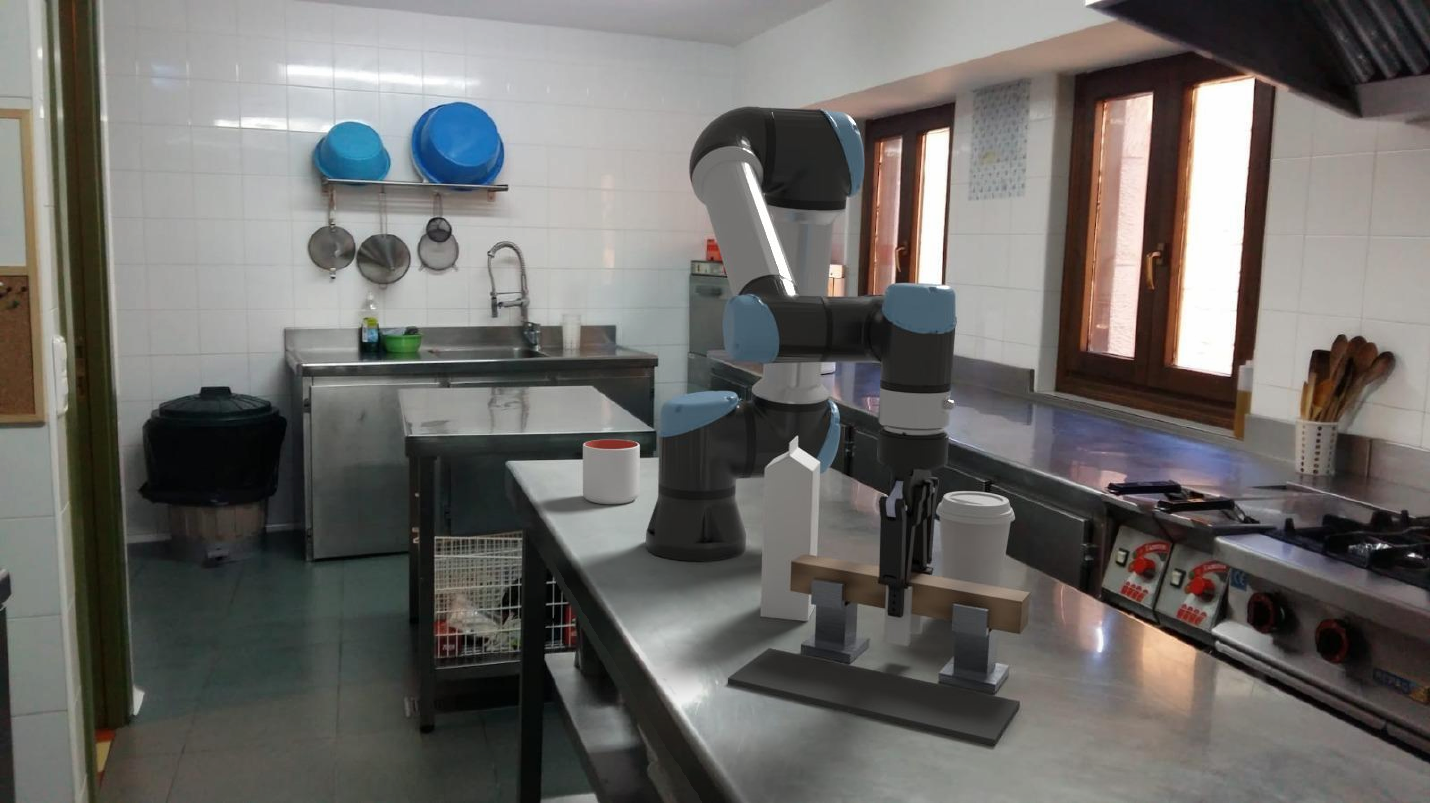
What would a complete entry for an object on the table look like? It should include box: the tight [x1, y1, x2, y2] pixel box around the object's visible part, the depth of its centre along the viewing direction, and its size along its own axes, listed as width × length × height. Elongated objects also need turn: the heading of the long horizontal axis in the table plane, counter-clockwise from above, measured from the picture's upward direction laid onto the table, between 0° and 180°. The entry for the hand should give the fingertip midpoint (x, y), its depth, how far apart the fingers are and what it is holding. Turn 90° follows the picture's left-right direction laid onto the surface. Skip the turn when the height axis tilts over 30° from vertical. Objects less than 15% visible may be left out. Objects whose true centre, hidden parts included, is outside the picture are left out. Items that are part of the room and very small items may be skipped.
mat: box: [727, 647, 1021, 747], centre depth 113 cm, size 28×10×1 cm, turn 62°
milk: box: [760, 436, 821, 622], centre depth 136 cm, size 6×6×22 cm
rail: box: [790, 554, 1030, 635], centre depth 120 cm, size 26×4×4 cm, turn 62°
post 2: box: [938, 602, 1010, 695], centre depth 117 cm, size 6×7×9 cm
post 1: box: [800, 578, 871, 664], centre depth 125 cm, size 6×7×9 cm
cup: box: [582, 438, 641, 505], centre depth 194 cm, size 10×10×10 cm
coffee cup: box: [935, 490, 1016, 588], centre depth 137 cm, size 10×10×15 cm
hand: (902, 636), depth 121 cm, fingers closed on rail, 3 cm apart
